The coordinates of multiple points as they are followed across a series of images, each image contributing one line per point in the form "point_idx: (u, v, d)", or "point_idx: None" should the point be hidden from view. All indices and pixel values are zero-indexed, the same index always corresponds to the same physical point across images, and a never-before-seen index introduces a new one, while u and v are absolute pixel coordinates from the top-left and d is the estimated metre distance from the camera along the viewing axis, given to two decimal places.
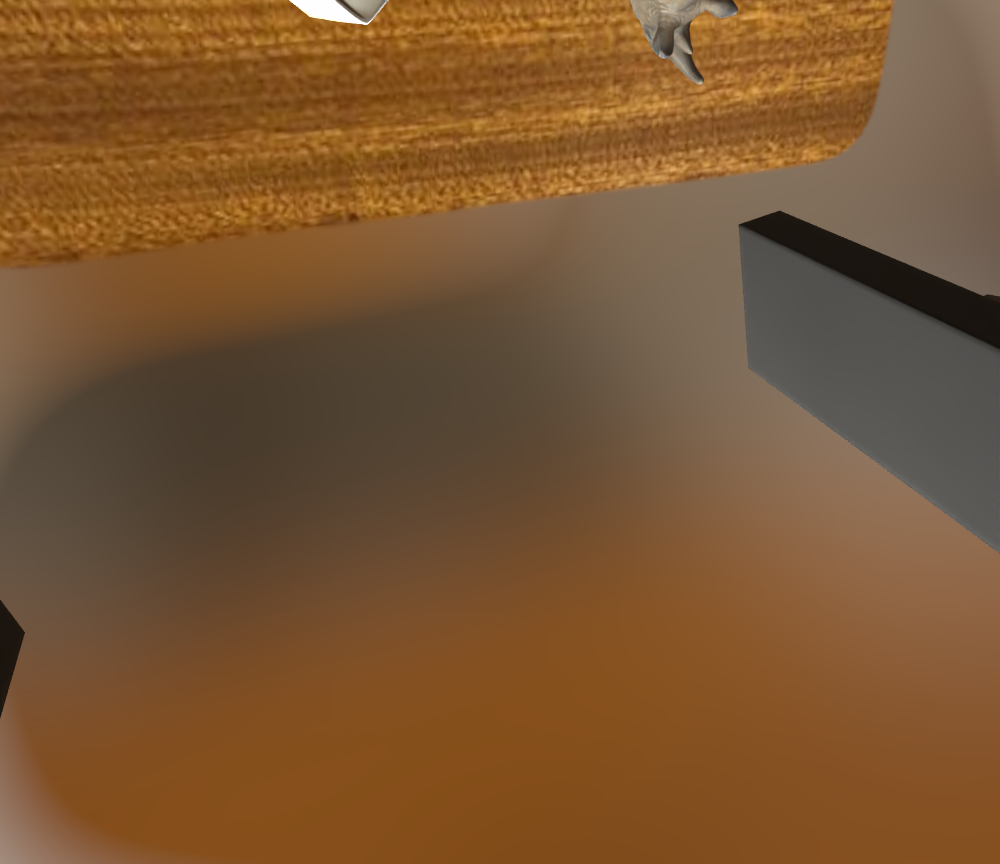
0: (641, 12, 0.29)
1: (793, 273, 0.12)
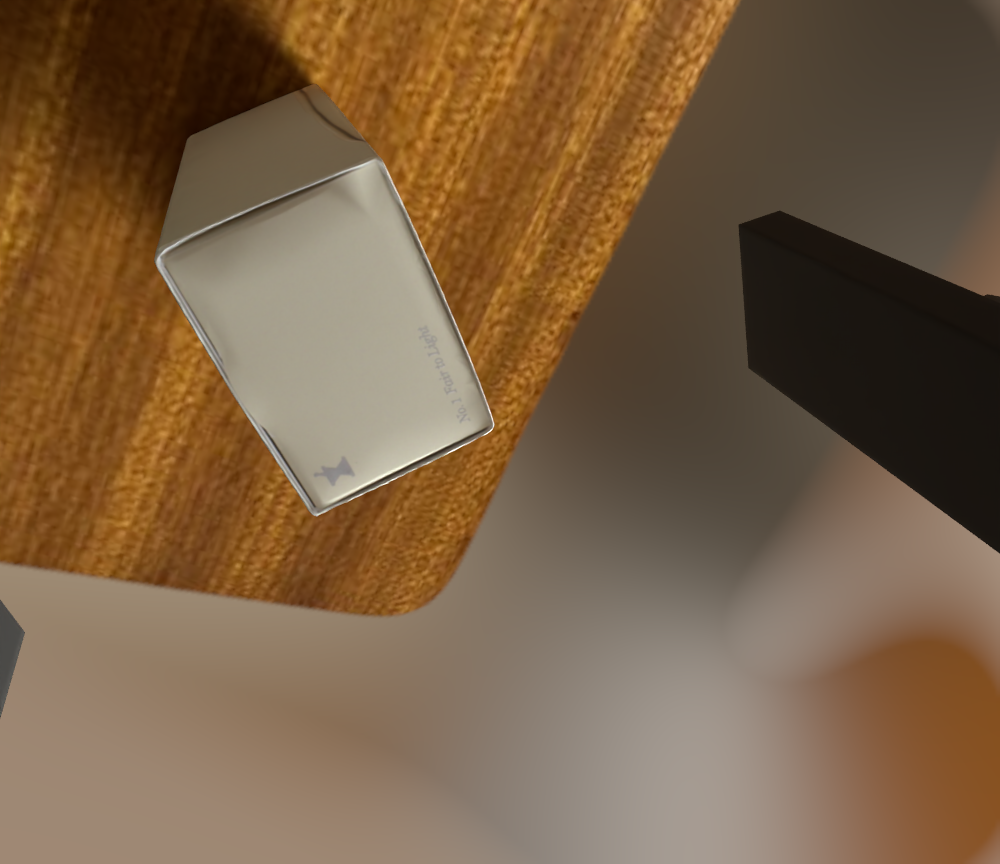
0: None
1: (793, 273, 0.12)
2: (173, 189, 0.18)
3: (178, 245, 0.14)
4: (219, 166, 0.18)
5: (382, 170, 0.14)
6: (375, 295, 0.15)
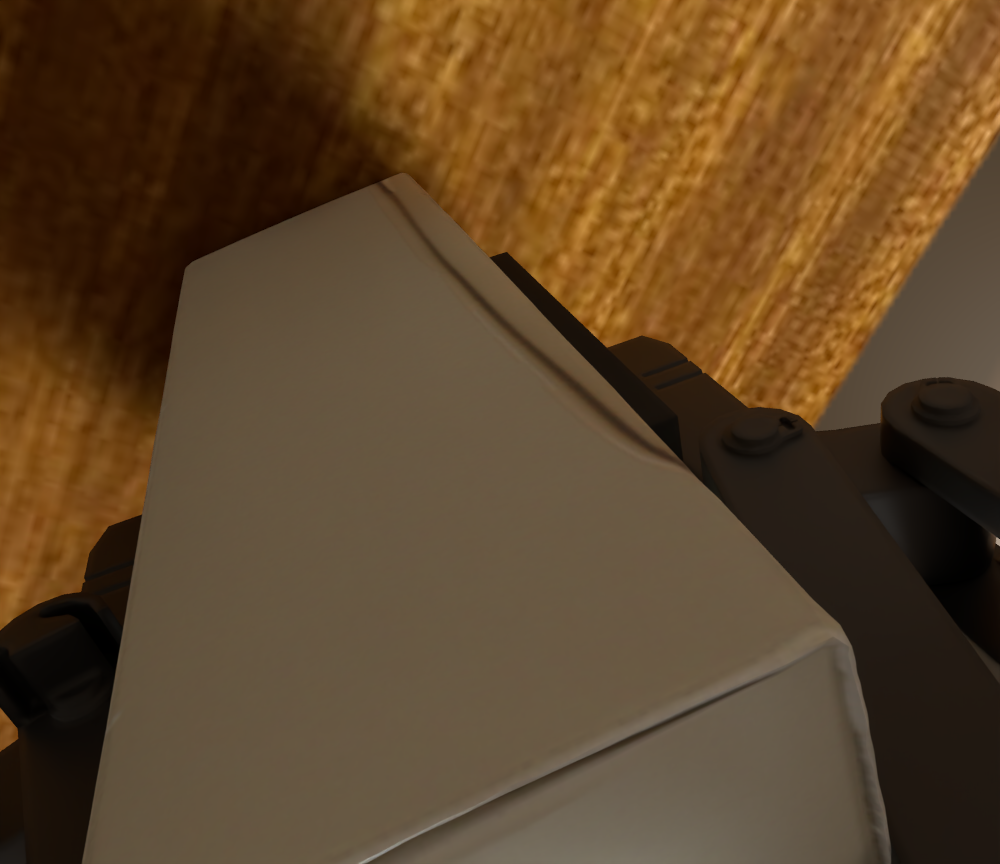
0: None
1: None
2: (150, 468, 0.08)
3: None
4: (254, 420, 0.08)
5: (844, 666, 0.04)
6: None
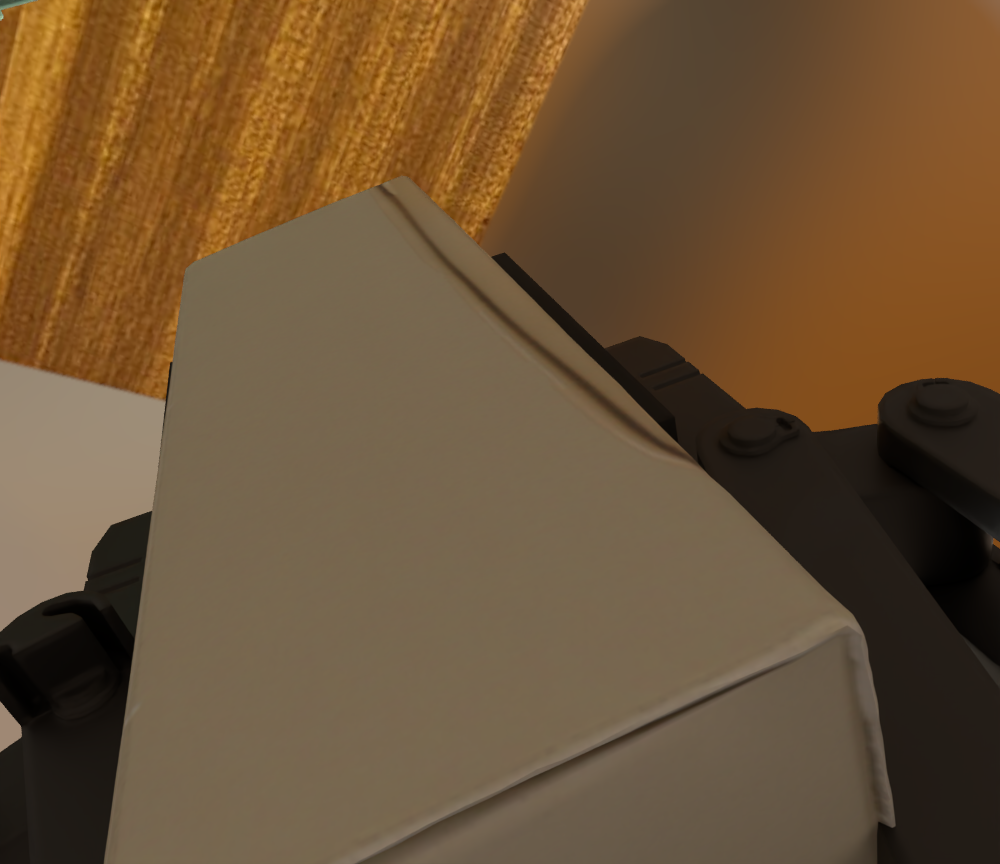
0: None
1: None
2: (159, 466, 0.08)
3: None
4: (263, 419, 0.08)
5: (857, 655, 0.04)
6: None
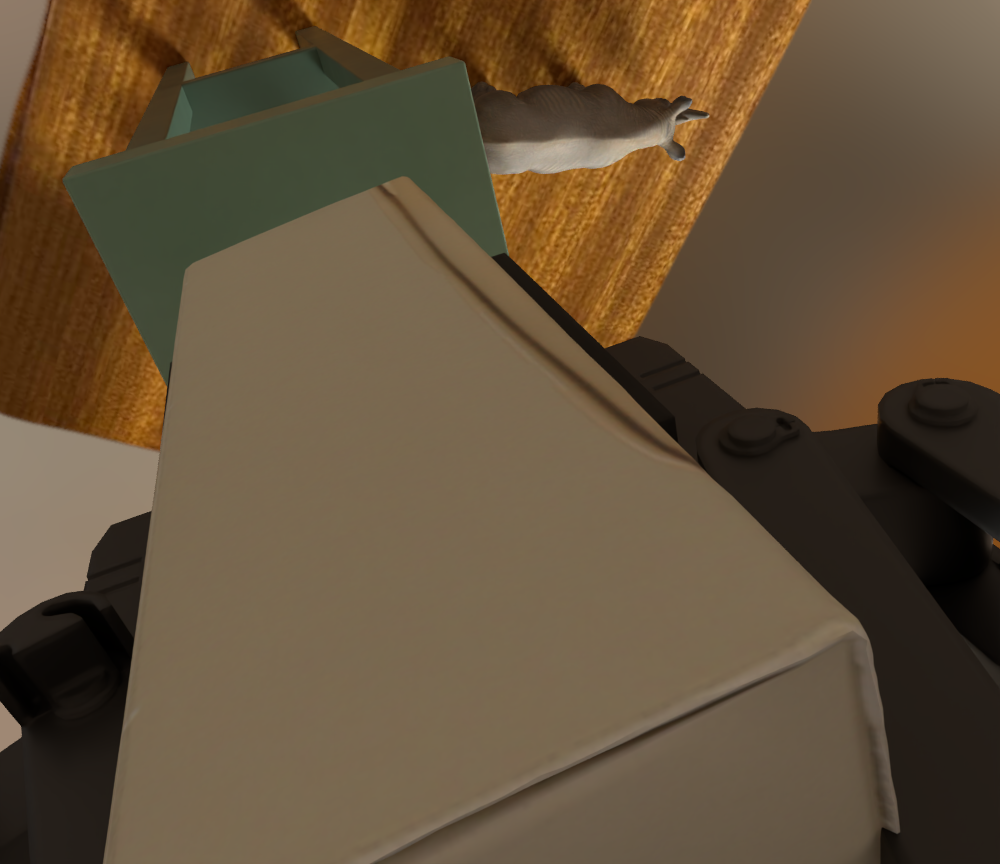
0: None
1: None
2: (158, 468, 0.08)
3: None
4: (263, 420, 0.08)
5: (862, 660, 0.04)
6: None
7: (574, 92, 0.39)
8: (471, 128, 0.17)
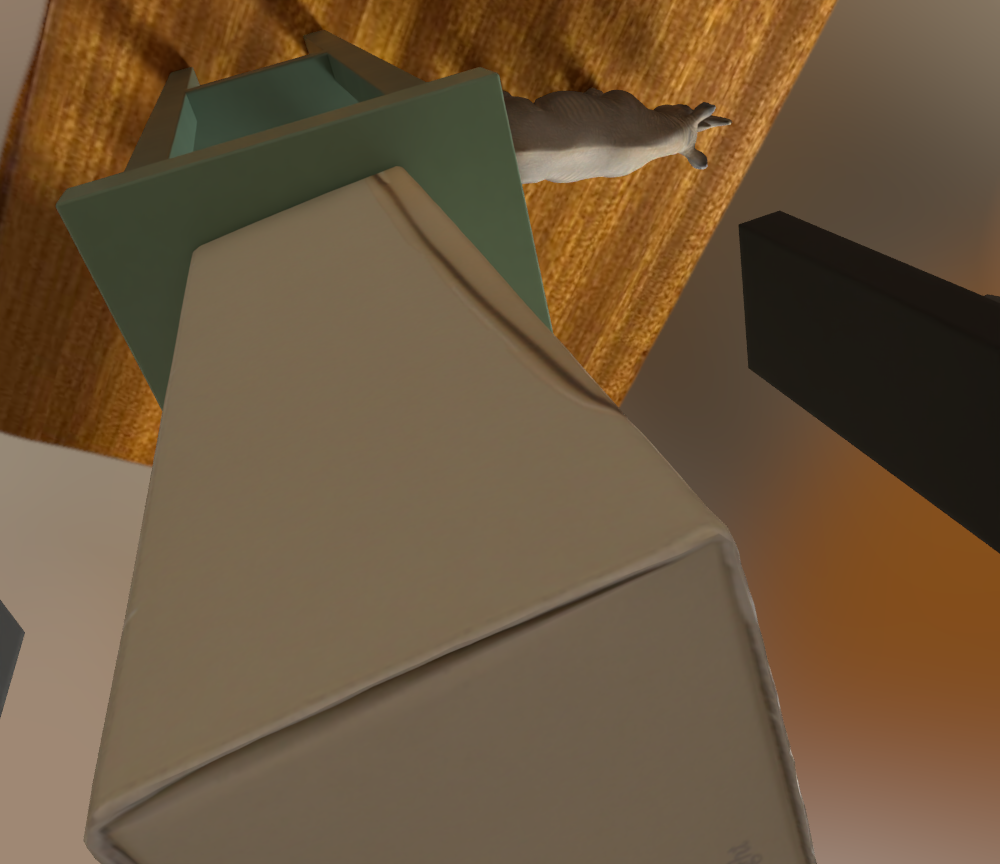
0: None
1: (793, 273, 0.12)
2: (161, 423, 0.09)
3: (157, 793, 0.05)
4: (254, 381, 0.09)
5: (730, 560, 0.05)
6: (652, 811, 0.06)
7: (593, 98, 0.38)
8: (504, 146, 0.16)
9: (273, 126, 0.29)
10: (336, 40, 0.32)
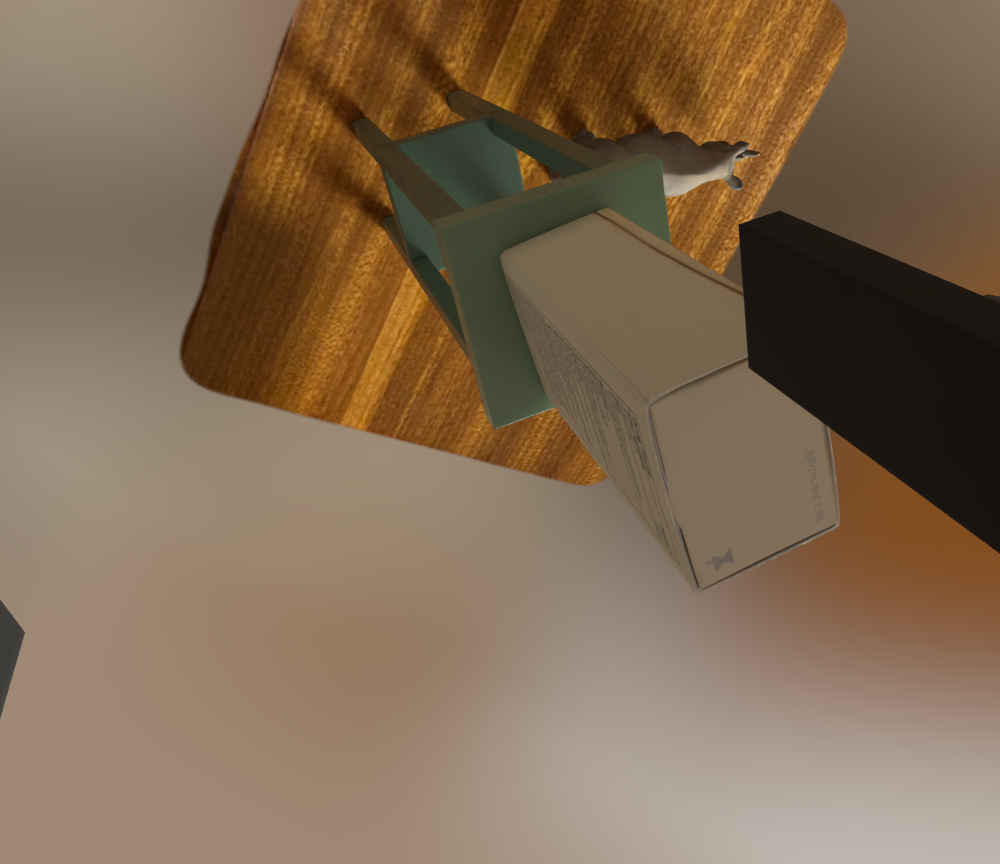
0: None
1: (793, 273, 0.12)
2: (568, 322, 0.22)
3: (662, 396, 0.18)
4: (607, 305, 0.22)
5: None
6: (784, 428, 0.19)
7: (659, 139, 0.51)
8: (660, 196, 0.29)
9: (450, 166, 0.43)
10: (487, 103, 0.45)
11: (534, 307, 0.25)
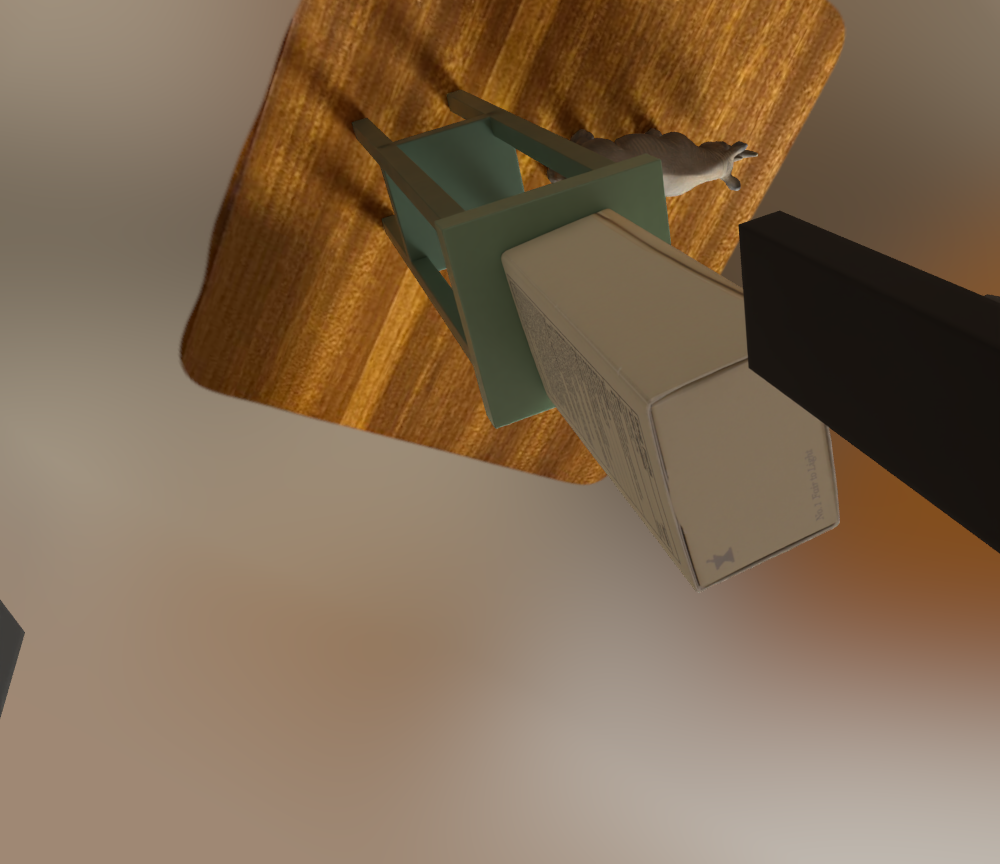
0: None
1: (793, 273, 0.12)
2: (569, 323, 0.22)
3: (664, 396, 0.18)
4: (608, 305, 0.22)
5: None
6: (784, 428, 0.19)
7: (658, 139, 0.51)
8: (660, 196, 0.29)
9: (450, 166, 0.43)
10: (486, 104, 0.45)
11: (535, 307, 0.26)
